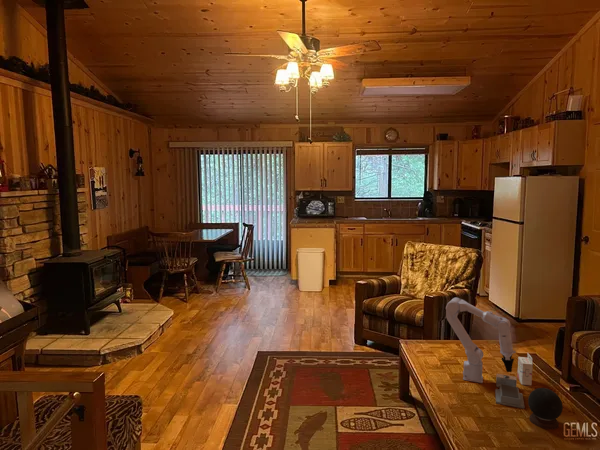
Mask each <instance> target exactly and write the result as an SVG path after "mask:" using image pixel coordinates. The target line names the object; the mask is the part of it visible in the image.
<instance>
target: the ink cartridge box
mask: <svg viewBox="0 0 600 450" xmlns="http://www.w3.org/2000/svg"><path fill="white" fill-rule="evenodd" d="M517 359H518V360H517V376H516V379H517V380H518V381H519V383H520V384H521V385H522V386H533V385H532V384H533V383H532V382H533V381H532V379H533V364H534V363H533V362H534V361H533V357H532V356H531V355H530V354H529V352H527V357H524V356H518V357H517Z"/></svg>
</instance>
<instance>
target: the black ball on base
mask: <svg viewBox="0 0 600 450" xmlns="http://www.w3.org/2000/svg"><path fill="white" fill-rule="evenodd" d="M527 401H528V402H527V403H528V404H527V405H528V408H529V409H530V412H532V413H531V414H530V415H529V421H530V422H531V424H533V426H536V427H538V428H541V429H545V430H552V431H553V430H557V429H558V428H559V426H560V423H559V421H558V420H557V419H558V418H559V417H560V416H561V415H562V412H563V409H564V406H563V405H564V404H563V402H562V400H561V397H560V396H559V395H558V394H557V393H556V392H555V391H554V390H551V389H549V388H547V387H538V388H535V389H533V390H532V391H531V392H530V393H529V395H528V398H527Z"/></svg>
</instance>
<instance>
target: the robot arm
mask: <svg viewBox="0 0 600 450" xmlns="http://www.w3.org/2000/svg"><path fill="white" fill-rule="evenodd" d="M445 310H446V311H445V313H446V315H445V317H446V320H447V321H448V323H449V325H450V326H451V328H452V330H453V332H454V333H455V335H456V336H457V338H458V339H459V341H460V343H461V344H462V346H463V348H464V352H465V355H466V357H467V360H464V361H463V371H462V375H463V377H462V380H463V381H470V382H473V383H478V384H479V383H480V384H483V383H484V381H483V379H484V378H483V377H484V376H483V365H484V364H483V361H482V359H483V358H484V352H483V350H482V349H481V348H479V346H478V345H477V344H476V343H474V342H473V339H471V337H470V335H469V334H468V332H467V330H466V329H465V327H464V326H463V324H462V323H461V321H460V319H459V318H458V315H459V313H460V312H461V313H462V312H468V313H470V314H472V315H474V316H477V317H478V318H479V317H480V318H481V320H482V322H484V323H486V324H488V325H491V326H492V327H494V328H496V329H497V331H498V340H499V348H500V351H499V353H500V354H501V356H502V357H501V361H502V363H503V365H504V367H505V370H506V372H507V373H512V371H513V363H514V361H515V358H513V357H512V356H513V355H514V354H516V353H517V352H516V350H514V348H513V340H512V339H513V338H512V333H511V322H510V319H508V318H507V317H503V316H499V315H497V314H495V313H494V312H493V311H489V310H488V311H484V310H482V309H480V308H478V307H476V306H474V305H472V304H471V303H469V302H468V301H466V300H465V299H462V298H459V297H453V298H452V299H451V300H450V301H449V302H447V303H446V306H445Z"/></svg>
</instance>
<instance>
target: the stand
mask: <svg viewBox="0 0 600 450" xmlns="http://www.w3.org/2000/svg"><path fill="white" fill-rule="evenodd" d="M494 392H495V404H498V405H503V406H509V407H513V408H519V409H525V402H524V396H523V393H521V392H520V391H519V387H518V386H516V387H513V386H508V385H502V384H500V387H499V389H498V388H495V390H494Z"/></svg>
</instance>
